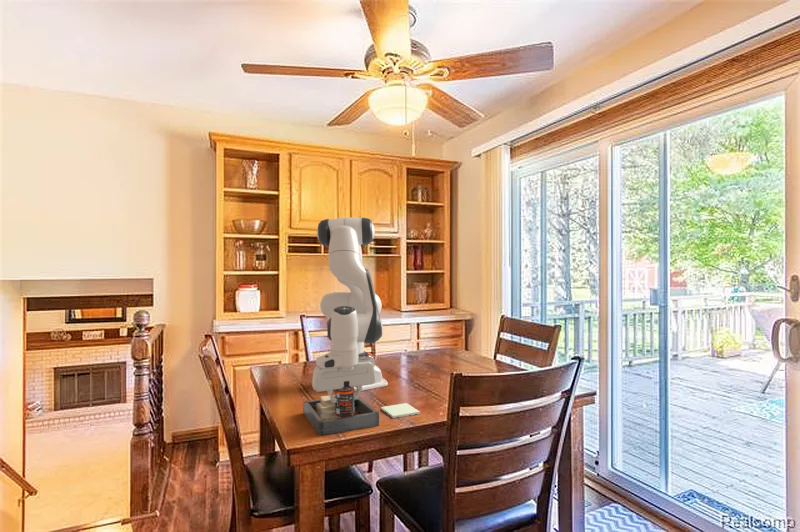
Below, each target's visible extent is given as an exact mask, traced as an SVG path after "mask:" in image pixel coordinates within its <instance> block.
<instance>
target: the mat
mask: <svg viewBox="0 0 800 532" xmlns="http://www.w3.org/2000/svg"><path fill="white" fill-rule="evenodd" d="M380 410H381V411H383V412H384V413H385V412H386V413H387V416H389V415H390V416H391V417H390V416H389V417H390V418H392V419H393V418H394V419H398V418H397V417H400V418H404V416H406V417H410V416H409V415H411V416H415V414H417V415H420V414H421V412H420V410H418V409H417V408H415V407H413V406H412V405H411V404H409V403H408V402H404V403H399V404H398V403H397V404H391V405H385V406H381V407H380ZM386 413H385V414H386Z"/></svg>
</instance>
